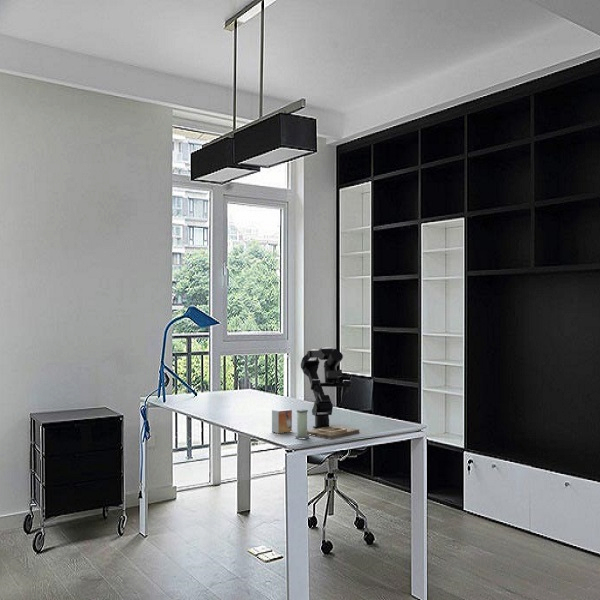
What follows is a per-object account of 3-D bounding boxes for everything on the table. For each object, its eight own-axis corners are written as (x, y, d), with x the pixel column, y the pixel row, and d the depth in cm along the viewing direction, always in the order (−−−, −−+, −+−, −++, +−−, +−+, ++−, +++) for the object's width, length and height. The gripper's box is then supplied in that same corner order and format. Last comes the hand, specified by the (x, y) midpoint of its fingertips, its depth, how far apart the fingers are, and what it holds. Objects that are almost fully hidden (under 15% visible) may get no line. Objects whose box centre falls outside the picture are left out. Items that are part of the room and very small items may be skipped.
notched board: (305, 434, 314) (304, 428, 314) (334, 428, 328) (334, 423, 328) (329, 439, 303) (329, 433, 303) (359, 432, 317) (359, 427, 317)
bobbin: (292, 438, 306) (292, 410, 306) (302, 436, 310) (302, 408, 310) (302, 440, 301) (302, 411, 301) (312, 437, 305) (312, 410, 305)
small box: (278, 434, 315) (278, 411, 315) (271, 432, 320) (271, 409, 320) (292, 432, 320) (292, 409, 320) (285, 430, 324) (285, 408, 324)
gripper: (312, 362, 311) (313, 392, 302) (352, 363, 312) (354, 393, 303) (310, 374, 320) (311, 404, 311) (349, 375, 321) (351, 404, 312)
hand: (332, 401), depth 309 cm, fingers open, 9 cm apart
